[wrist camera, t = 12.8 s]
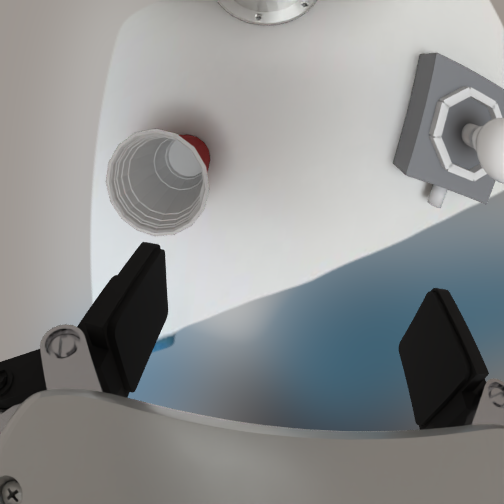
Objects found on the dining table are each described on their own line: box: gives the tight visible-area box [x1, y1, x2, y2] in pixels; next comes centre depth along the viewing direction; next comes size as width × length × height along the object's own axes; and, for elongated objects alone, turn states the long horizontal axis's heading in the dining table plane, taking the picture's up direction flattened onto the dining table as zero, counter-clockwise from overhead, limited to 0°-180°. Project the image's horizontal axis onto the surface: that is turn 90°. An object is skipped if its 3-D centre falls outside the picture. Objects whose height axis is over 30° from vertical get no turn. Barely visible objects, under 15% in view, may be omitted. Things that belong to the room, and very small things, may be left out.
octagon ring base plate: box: [393, 53, 504, 208], centre depth 30 cm, size 18×13×6 cm
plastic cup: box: [106, 129, 210, 236], centre depth 33 cm, size 11×11×12 cm
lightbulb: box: [462, 118, 504, 183], centre depth 23 cm, size 6×6×11 cm
